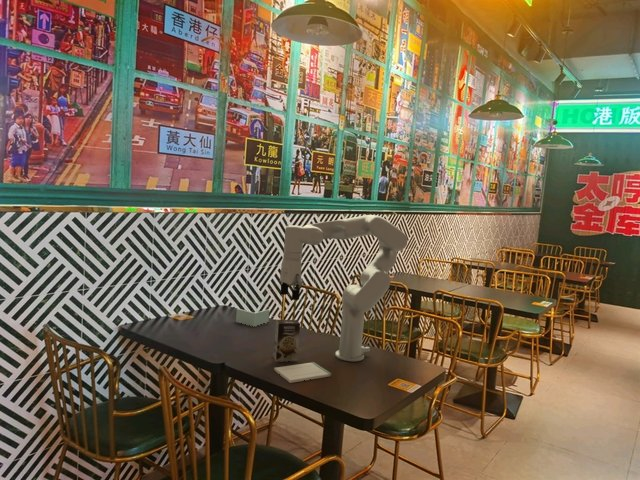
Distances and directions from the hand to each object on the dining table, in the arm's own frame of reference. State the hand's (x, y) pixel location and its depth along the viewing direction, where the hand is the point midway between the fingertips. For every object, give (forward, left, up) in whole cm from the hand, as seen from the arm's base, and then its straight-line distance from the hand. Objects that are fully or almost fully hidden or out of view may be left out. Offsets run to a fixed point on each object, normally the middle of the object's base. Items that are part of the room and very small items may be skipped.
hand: (289, 296), depth 195 cm
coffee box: (0, 0, -26) cm, 27 cm away
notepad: (+1, +16, -26) cm, 31 cm away
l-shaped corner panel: (-10, -54, -27) cm, 61 cm away
